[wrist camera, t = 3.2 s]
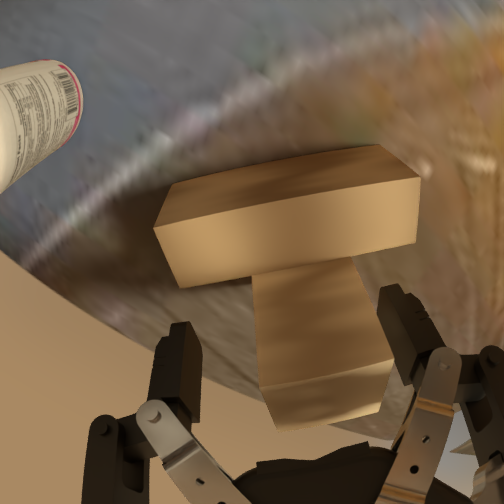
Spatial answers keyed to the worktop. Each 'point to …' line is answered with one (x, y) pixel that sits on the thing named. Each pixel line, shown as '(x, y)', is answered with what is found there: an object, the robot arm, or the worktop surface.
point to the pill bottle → (35, 114)
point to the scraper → (300, 269)
